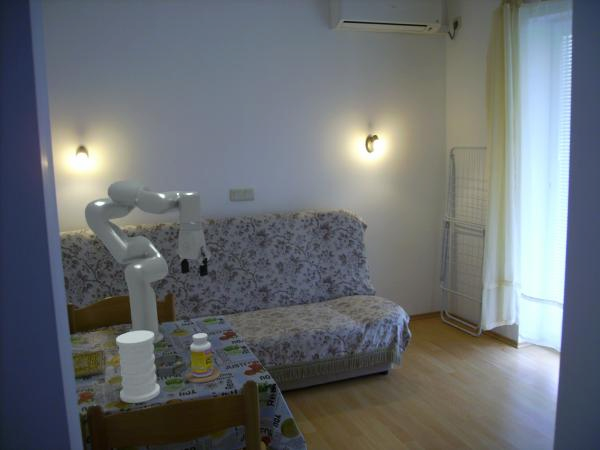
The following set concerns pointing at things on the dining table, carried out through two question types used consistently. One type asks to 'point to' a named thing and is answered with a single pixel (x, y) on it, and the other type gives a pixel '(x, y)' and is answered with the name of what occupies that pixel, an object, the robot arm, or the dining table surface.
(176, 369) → the collar
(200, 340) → the supplement bottle
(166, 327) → the dining table surface
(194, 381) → the coaster
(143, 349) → the decorative container
